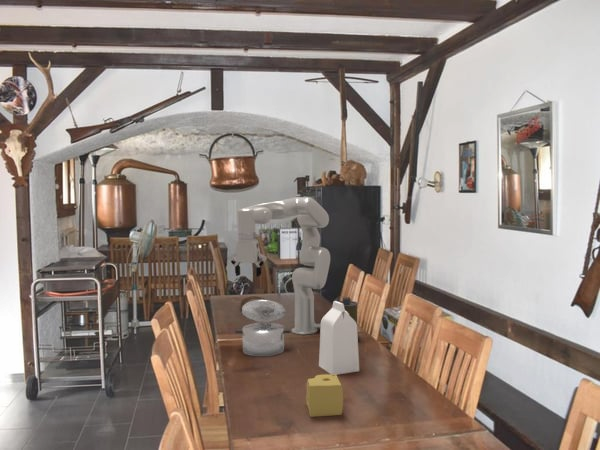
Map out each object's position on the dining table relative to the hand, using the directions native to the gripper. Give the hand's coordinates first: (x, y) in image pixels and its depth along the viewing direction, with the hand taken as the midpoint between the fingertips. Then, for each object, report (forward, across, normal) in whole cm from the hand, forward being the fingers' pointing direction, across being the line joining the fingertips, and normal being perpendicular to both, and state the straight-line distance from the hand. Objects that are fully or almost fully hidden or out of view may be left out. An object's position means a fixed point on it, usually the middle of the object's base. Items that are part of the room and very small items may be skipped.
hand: (248, 275), depth 235 cm
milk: (+33, -44, +15) cm, 57 cm away
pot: (+33, -6, 0) cm, 33 cm away
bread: (+34, +25, -68) cm, 80 cm away
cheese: (+32, -48, +55) cm, 80 cm away
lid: (+16, -6, -2) cm, 18 cm away
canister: (+34, -38, -25) cm, 56 cm away
